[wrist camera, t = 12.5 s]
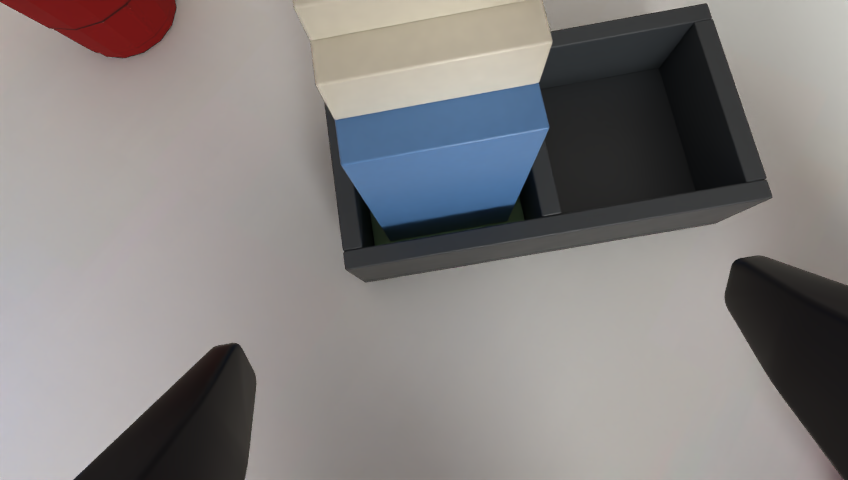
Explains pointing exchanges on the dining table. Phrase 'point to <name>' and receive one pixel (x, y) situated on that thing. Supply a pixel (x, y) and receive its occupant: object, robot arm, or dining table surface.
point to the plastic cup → (103, 22)
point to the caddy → (599, 151)
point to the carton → (432, 104)
